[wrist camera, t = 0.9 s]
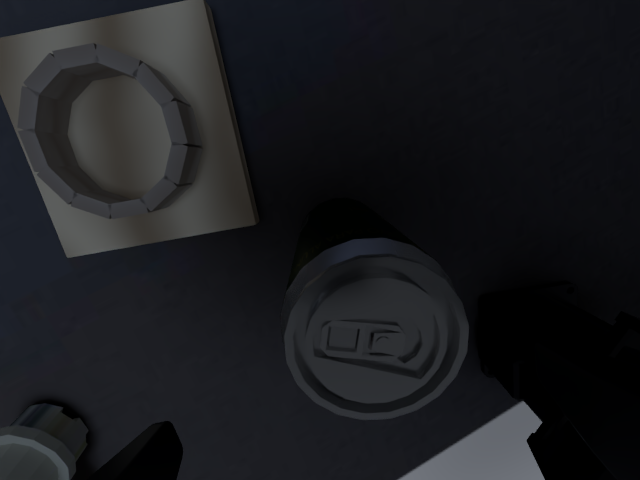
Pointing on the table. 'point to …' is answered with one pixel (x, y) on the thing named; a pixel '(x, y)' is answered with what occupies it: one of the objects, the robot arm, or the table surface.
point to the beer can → (369, 316)
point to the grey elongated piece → (41, 445)
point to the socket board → (129, 127)
